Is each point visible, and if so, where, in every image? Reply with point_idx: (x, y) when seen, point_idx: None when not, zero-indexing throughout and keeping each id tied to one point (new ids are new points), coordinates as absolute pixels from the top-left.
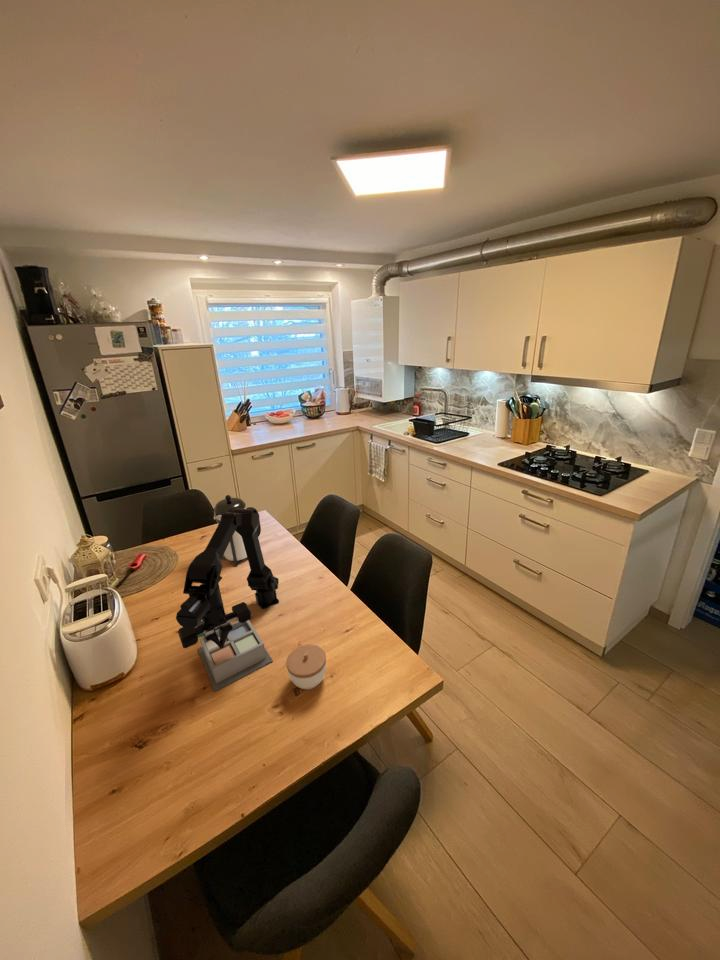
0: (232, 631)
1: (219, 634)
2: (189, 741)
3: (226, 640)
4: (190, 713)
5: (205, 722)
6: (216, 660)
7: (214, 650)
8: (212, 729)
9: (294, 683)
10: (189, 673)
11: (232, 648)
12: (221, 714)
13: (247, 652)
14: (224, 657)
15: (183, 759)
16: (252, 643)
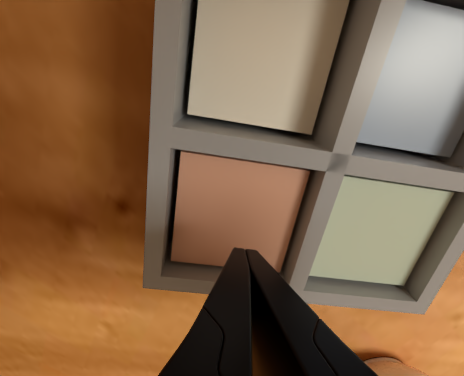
0: (413, 12)
1: (279, 356)
2: (37, 339)
3: (326, 75)
4: (51, 267)
5: (90, 320)
6: (189, 226)
7: (210, 150)
8: (103, 346)
9: None
10: (78, 69)
11: (305, 189)
12: (140, 326)
13: (334, 303)
14: (233, 236)
15: (17, 365)
16: (396, 252)
